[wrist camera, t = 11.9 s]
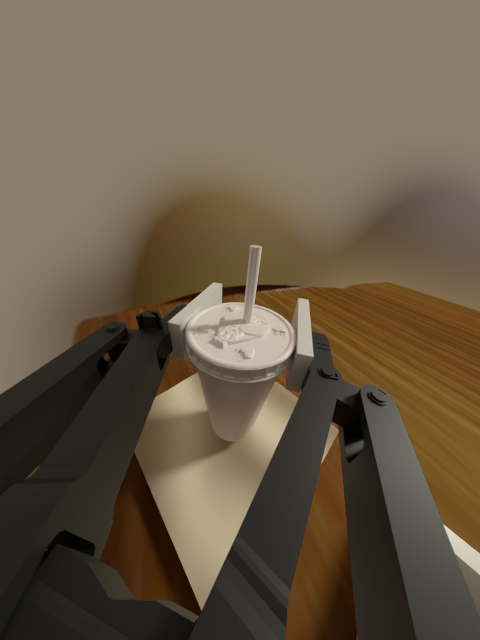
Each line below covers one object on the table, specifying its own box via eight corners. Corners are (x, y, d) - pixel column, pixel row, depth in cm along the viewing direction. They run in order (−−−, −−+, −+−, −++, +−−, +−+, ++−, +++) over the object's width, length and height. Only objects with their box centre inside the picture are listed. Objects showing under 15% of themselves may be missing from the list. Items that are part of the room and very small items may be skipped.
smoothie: (282, 413, 16) (340, 252, 9) (239, 486, 12) (283, 288, 4) (228, 376, 19) (236, 232, 12) (178, 423, 15) (140, 242, 7)
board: (235, 354, 25) (235, 349, 25) (336, 434, 17) (339, 430, 17) (122, 423, 16) (120, 418, 16) (219, 651, 8) (219, 654, 8)
